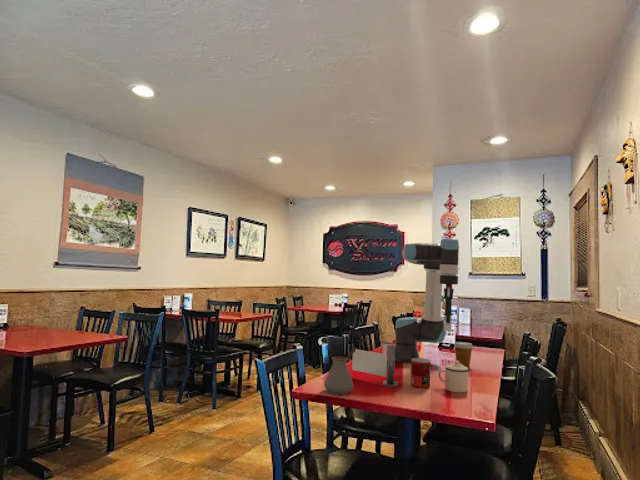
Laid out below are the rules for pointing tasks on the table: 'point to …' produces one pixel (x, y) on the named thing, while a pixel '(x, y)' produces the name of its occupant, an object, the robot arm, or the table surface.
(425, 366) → the canned food
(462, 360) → the disposable coffee cup
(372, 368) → the swing panel
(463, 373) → the teacup with lid
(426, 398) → the table surface
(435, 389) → the table surface
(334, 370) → the coffee pot
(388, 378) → the post
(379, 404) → the table surface
